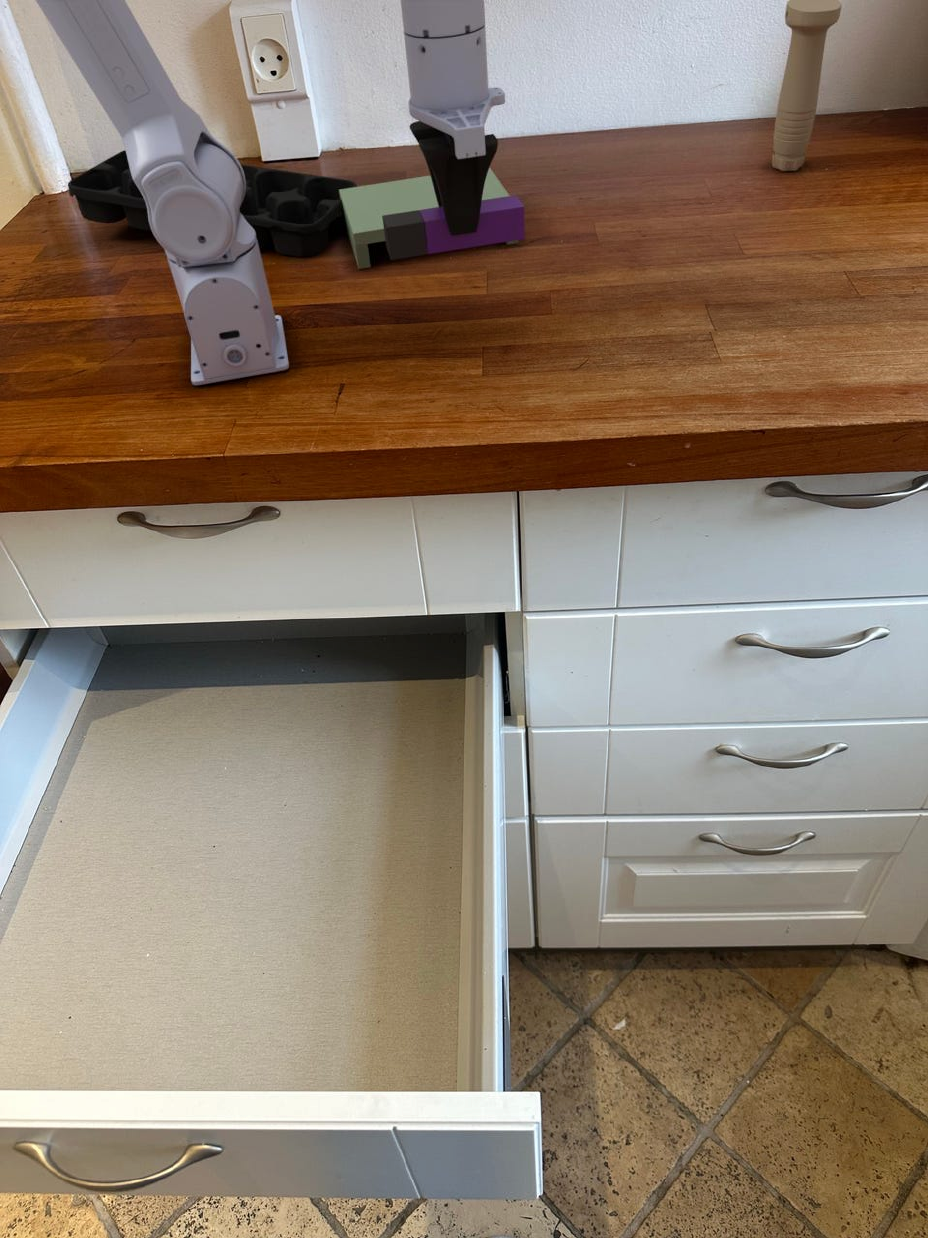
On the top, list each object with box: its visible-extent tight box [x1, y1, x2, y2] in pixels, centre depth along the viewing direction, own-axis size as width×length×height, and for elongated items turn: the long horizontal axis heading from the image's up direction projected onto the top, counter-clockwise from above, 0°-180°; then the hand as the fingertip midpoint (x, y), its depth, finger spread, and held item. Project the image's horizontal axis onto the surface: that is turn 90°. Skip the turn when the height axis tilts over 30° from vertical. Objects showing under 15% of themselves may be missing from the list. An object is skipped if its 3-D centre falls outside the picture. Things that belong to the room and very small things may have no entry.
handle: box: [771, 0, 843, 172], centre depth 94 cm, size 5×6×15 cm
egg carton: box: [67, 149, 358, 258], centre depth 97 cm, size 18×30×4 cm, turn 84°
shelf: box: [339, 166, 520, 270], centre depth 92 cm, size 12×16×4 cm
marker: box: [382, 194, 526, 261], centre depth 73 cm, size 3×11×3 cm, turn 102°
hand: (459, 225), depth 73 cm, fingers closed on marker, 2 cm apart
